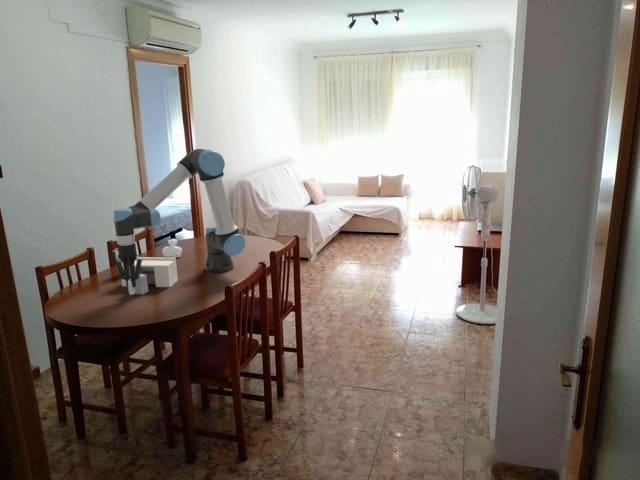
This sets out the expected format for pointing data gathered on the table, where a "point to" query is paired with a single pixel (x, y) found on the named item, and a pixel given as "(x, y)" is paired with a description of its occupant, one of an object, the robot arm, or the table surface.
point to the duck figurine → (172, 249)
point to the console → (158, 271)
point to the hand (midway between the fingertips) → (132, 293)
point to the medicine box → (141, 285)
